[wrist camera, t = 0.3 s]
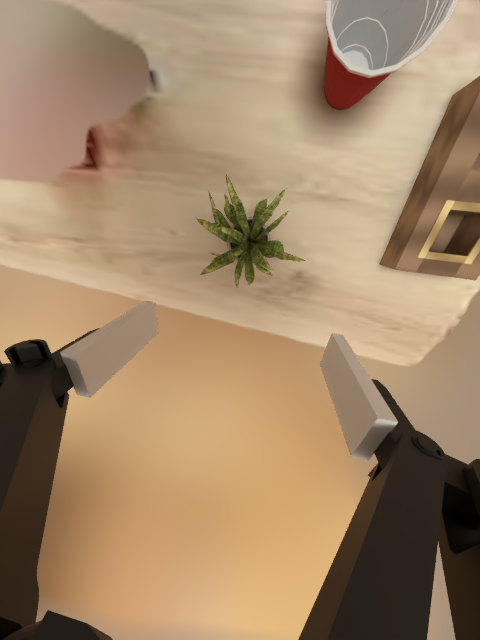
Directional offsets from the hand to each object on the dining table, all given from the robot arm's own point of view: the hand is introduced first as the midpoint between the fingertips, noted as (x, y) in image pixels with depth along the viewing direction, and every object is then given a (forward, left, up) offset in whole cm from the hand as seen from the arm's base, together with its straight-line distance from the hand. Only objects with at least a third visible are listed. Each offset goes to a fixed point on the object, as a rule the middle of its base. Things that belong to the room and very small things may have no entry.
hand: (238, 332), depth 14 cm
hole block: (-14, +28, -28) cm, 42 cm away
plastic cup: (-26, +8, -28) cm, 39 cm away
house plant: (-5, -1, -28) cm, 28 cm away
